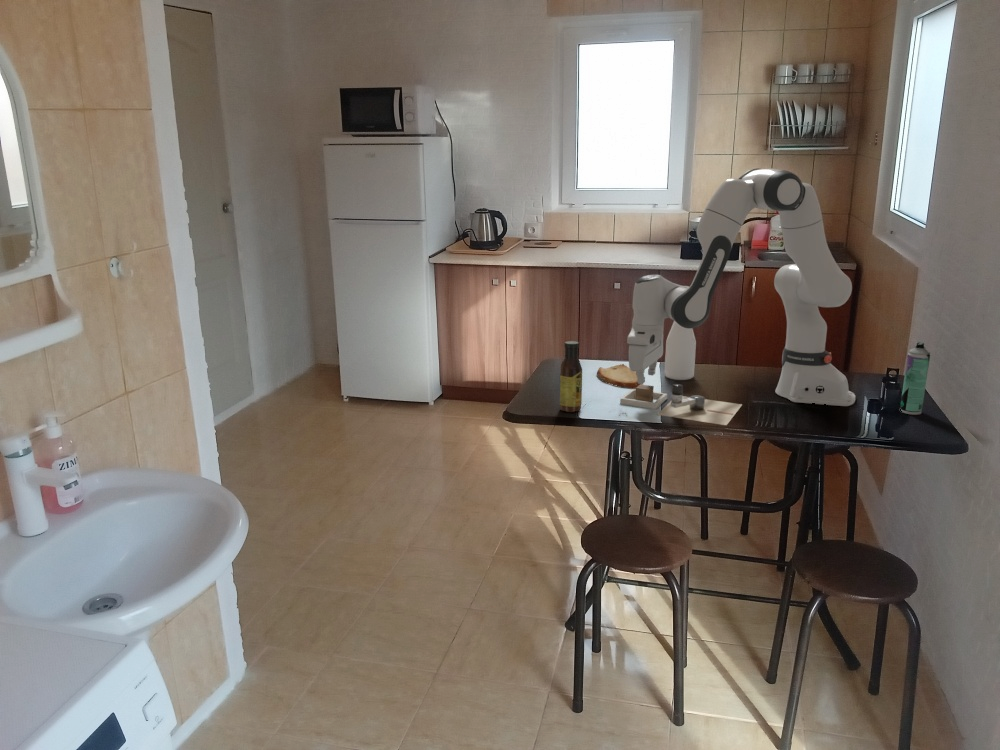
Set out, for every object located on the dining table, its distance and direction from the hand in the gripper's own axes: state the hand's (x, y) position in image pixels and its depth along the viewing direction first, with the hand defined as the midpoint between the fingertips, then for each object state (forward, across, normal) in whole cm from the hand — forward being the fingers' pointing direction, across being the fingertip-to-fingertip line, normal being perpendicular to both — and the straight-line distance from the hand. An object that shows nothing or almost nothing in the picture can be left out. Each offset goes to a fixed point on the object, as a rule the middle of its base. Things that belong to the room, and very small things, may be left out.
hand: (646, 379), depth 220 cm
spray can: (+10, -30, +68) cm, 75 cm away
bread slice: (+9, -23, -16) cm, 30 cm away
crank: (+6, +4, +13) cm, 15 cm away
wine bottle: (+9, -34, 0) cm, 35 cm away
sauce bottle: (+8, +14, -18) cm, 24 cm away
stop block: (+7, +1, 0) cm, 7 cm away
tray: (+8, +1, 0) cm, 8 cm away
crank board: (+8, +1, +16) cm, 18 cm away
